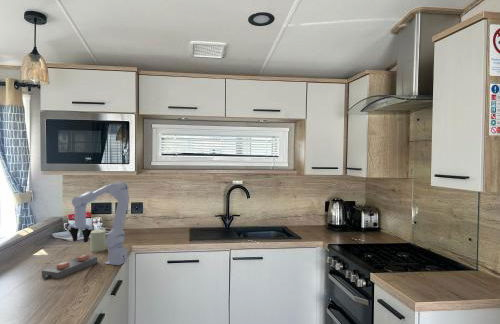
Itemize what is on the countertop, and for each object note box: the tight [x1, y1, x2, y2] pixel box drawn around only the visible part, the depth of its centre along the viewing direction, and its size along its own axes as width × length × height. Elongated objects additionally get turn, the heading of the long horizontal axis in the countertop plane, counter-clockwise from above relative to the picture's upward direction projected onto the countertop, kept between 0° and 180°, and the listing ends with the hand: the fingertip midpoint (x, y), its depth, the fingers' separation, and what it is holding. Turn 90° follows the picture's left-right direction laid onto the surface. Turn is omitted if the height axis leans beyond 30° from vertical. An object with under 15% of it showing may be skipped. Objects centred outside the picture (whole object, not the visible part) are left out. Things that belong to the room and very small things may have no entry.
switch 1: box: [56, 261, 70, 269], centre depth 172 cm, size 3×5×2 cm, turn 162°
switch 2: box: [76, 254, 90, 261], centre depth 184 cm, size 3×5×2 cm, turn 162°
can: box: [89, 229, 107, 253], centre depth 215 cm, size 9×9×12 cm
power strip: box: [41, 255, 98, 280], centre depth 177 cm, size 10×29×3 cm, turn 162°
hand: (80, 241), depth 194 cm, fingers open, 7 cm apart
